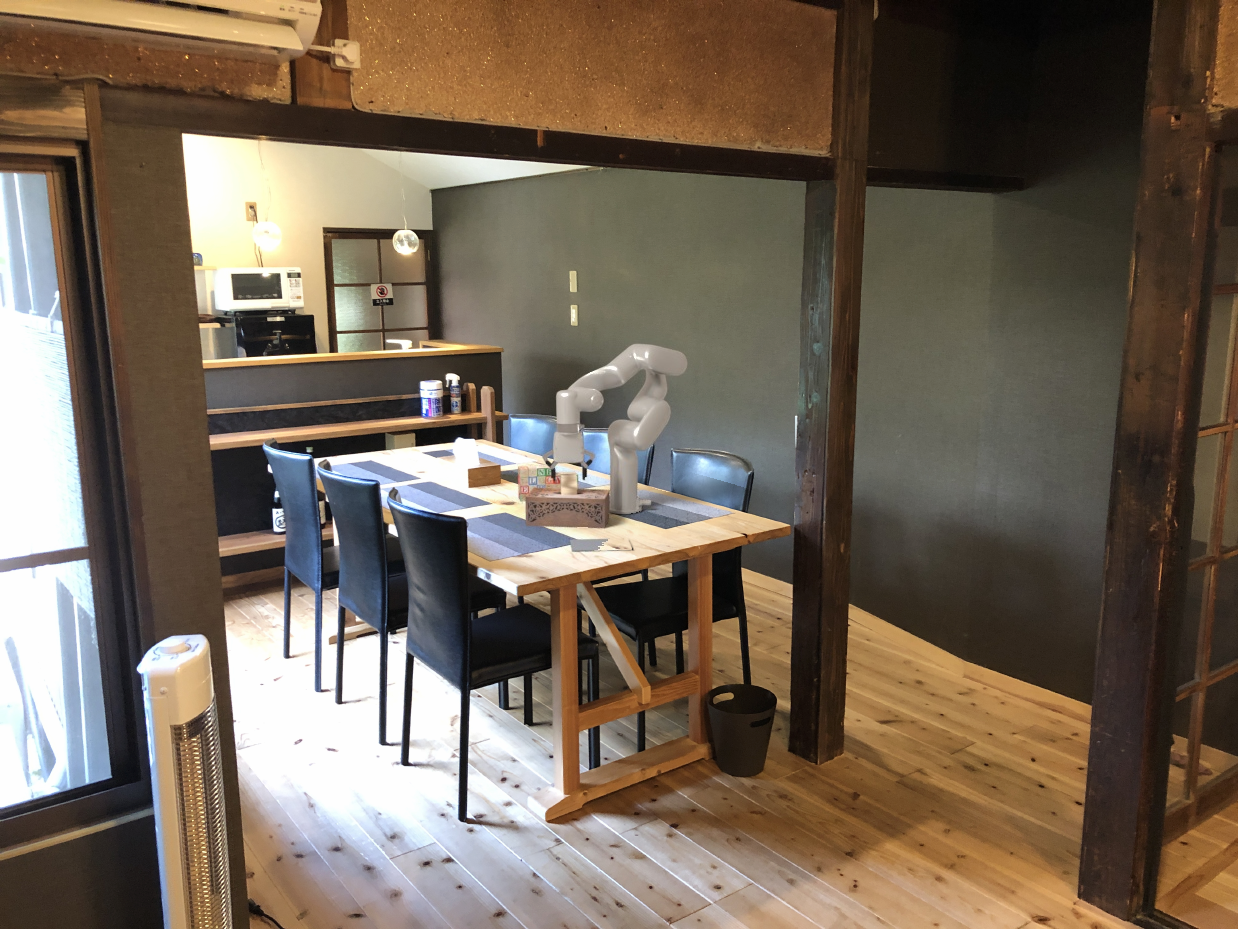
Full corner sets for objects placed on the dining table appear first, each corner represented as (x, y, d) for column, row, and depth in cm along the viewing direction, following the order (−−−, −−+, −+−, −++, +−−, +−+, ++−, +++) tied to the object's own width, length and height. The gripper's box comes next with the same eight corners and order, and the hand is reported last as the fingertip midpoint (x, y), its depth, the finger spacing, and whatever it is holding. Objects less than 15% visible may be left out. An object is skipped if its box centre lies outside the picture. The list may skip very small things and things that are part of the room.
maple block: (575, 491, 312) (575, 473, 310) (577, 494, 307) (577, 476, 306) (560, 491, 311) (560, 474, 310) (561, 495, 306) (561, 477, 305)
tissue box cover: (525, 526, 305) (525, 496, 303) (534, 516, 319) (533, 487, 317) (604, 529, 302) (604, 499, 300) (609, 518, 316) (609, 489, 314)
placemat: (628, 539, 289) (628, 538, 289) (633, 550, 277) (633, 549, 277) (569, 540, 287) (569, 539, 287) (572, 551, 275) (572, 550, 275)
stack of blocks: (575, 495, 349) (575, 463, 347) (578, 499, 343) (578, 466, 341) (518, 498, 344) (517, 465, 342) (520, 502, 338) (519, 468, 336)
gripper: (593, 426, 309) (594, 476, 313) (541, 427, 307) (542, 478, 311) (595, 429, 302) (596, 481, 305) (542, 430, 300) (543, 483, 303)
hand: (569, 479), depth 308 cm, fingers open, 9 cm apart
